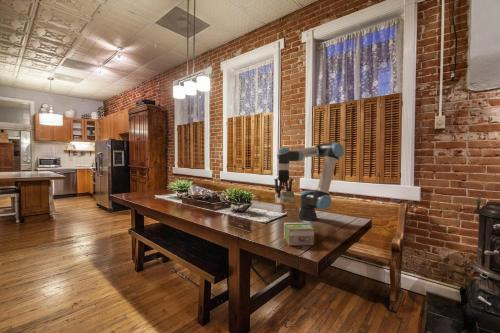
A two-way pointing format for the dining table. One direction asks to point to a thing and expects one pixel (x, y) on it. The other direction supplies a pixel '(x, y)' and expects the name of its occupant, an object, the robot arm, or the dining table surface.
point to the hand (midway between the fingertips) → (283, 202)
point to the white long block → (285, 197)
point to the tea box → (298, 234)
